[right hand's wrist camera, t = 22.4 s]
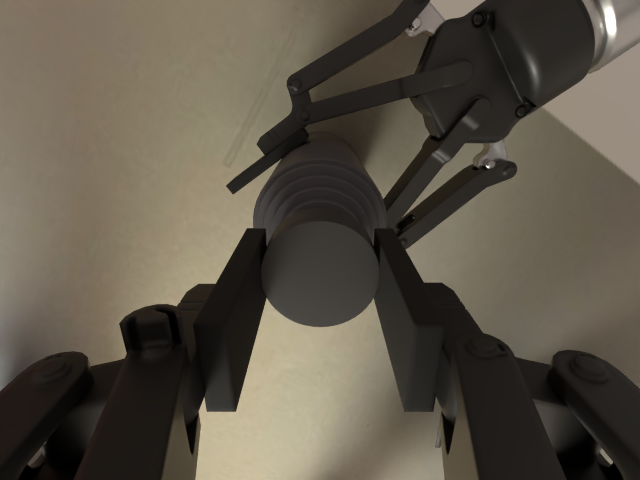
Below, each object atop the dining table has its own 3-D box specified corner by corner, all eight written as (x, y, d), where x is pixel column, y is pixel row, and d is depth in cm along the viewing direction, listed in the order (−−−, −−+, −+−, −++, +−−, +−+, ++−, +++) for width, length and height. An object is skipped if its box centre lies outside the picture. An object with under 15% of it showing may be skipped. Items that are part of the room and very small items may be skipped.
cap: (384, 291, 15) (391, 312, 14) (285, 315, 16) (281, 338, 14) (360, 193, 14) (365, 205, 12) (251, 223, 14) (242, 238, 12)
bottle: (369, 144, 31) (437, 208, 13) (345, 218, 33) (376, 356, 15) (291, 122, 30) (249, 156, 12) (273, 199, 33) (216, 321, 15)
